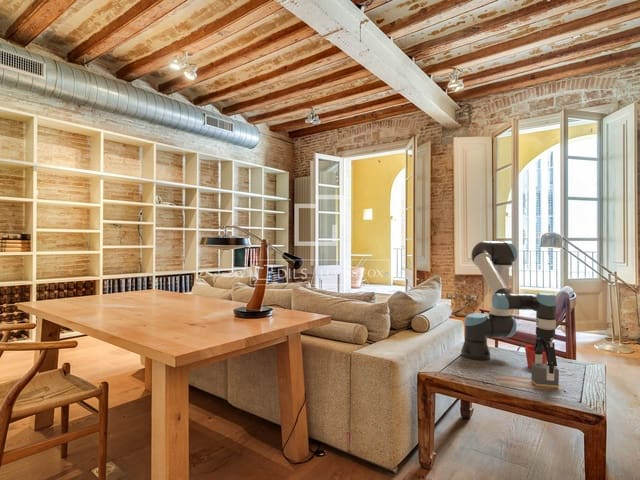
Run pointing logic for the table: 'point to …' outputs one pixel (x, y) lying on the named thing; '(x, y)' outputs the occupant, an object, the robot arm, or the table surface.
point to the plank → (522, 383)
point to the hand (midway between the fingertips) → (544, 374)
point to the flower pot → (533, 356)
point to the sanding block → (543, 376)
